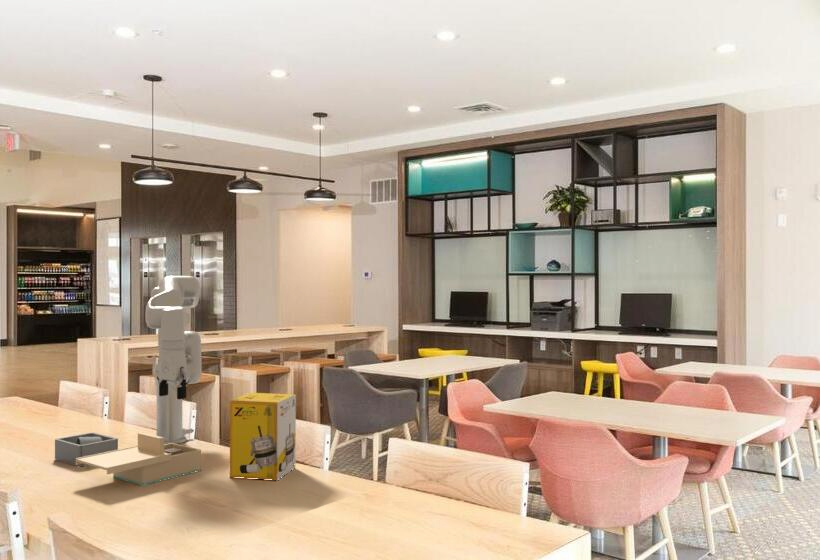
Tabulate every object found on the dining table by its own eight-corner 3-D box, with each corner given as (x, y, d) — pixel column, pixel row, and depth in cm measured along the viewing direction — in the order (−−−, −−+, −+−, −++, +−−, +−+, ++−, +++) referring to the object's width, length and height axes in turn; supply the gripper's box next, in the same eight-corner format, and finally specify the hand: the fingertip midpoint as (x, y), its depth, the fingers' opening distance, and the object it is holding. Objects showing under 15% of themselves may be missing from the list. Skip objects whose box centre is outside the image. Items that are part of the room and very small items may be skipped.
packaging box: (277, 481, 241) (277, 402, 241) (229, 478, 244) (229, 400, 244) (295, 468, 257) (295, 394, 256) (250, 465, 260) (250, 392, 260)
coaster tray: (92, 451, 278) (92, 432, 278) (118, 458, 268) (118, 438, 268) (54, 459, 266) (54, 439, 266) (79, 466, 256) (79, 446, 256)
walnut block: (162, 468, 252) (162, 450, 252) (173, 465, 256) (173, 447, 256) (170, 470, 250) (171, 452, 250) (182, 467, 254) (182, 449, 253)
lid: (138, 451, 253) (138, 430, 253) (171, 459, 242) (171, 438, 242) (75, 464, 235) (75, 442, 235) (107, 474, 225) (107, 451, 225)
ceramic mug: (104, 458, 268) (104, 436, 268) (80, 461, 263) (80, 439, 263) (97, 452, 277) (97, 431, 277) (73, 456, 272) (73, 434, 272)
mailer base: (171, 463, 262) (171, 442, 262) (201, 470, 253) (201, 449, 252) (113, 476, 245) (113, 455, 245) (142, 485, 235) (142, 462, 235)
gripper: (147, 344, 255) (147, 395, 255) (179, 348, 244) (179, 401, 244) (166, 343, 261) (166, 393, 261) (198, 346, 250) (198, 398, 250)
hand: (172, 397), depth 253 cm, fingers open, 9 cm apart
